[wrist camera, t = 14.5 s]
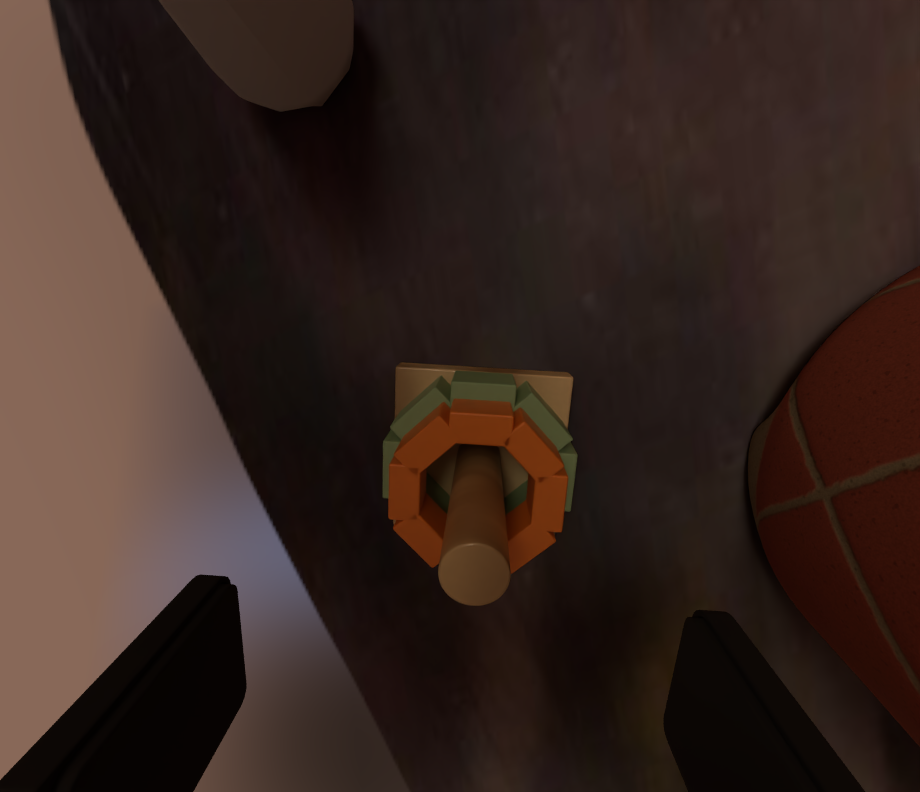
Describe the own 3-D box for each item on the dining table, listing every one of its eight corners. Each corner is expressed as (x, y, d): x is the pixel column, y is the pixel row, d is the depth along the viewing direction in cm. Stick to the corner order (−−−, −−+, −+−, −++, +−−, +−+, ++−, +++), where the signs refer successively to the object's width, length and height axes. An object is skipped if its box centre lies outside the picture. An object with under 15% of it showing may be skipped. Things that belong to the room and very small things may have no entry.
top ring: (397, 540, 19) (387, 569, 17) (399, 394, 17) (389, 407, 15) (548, 552, 19) (556, 582, 17) (565, 404, 17) (576, 420, 15)
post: (397, 513, 23) (332, 680, 13) (400, 361, 21) (326, 427, 11) (551, 524, 22) (602, 705, 13) (568, 372, 20) (645, 448, 11)
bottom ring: (392, 525, 22) (381, 554, 19) (395, 366, 20) (383, 376, 17) (555, 537, 21) (563, 568, 19) (574, 377, 19) (586, 389, 17)
